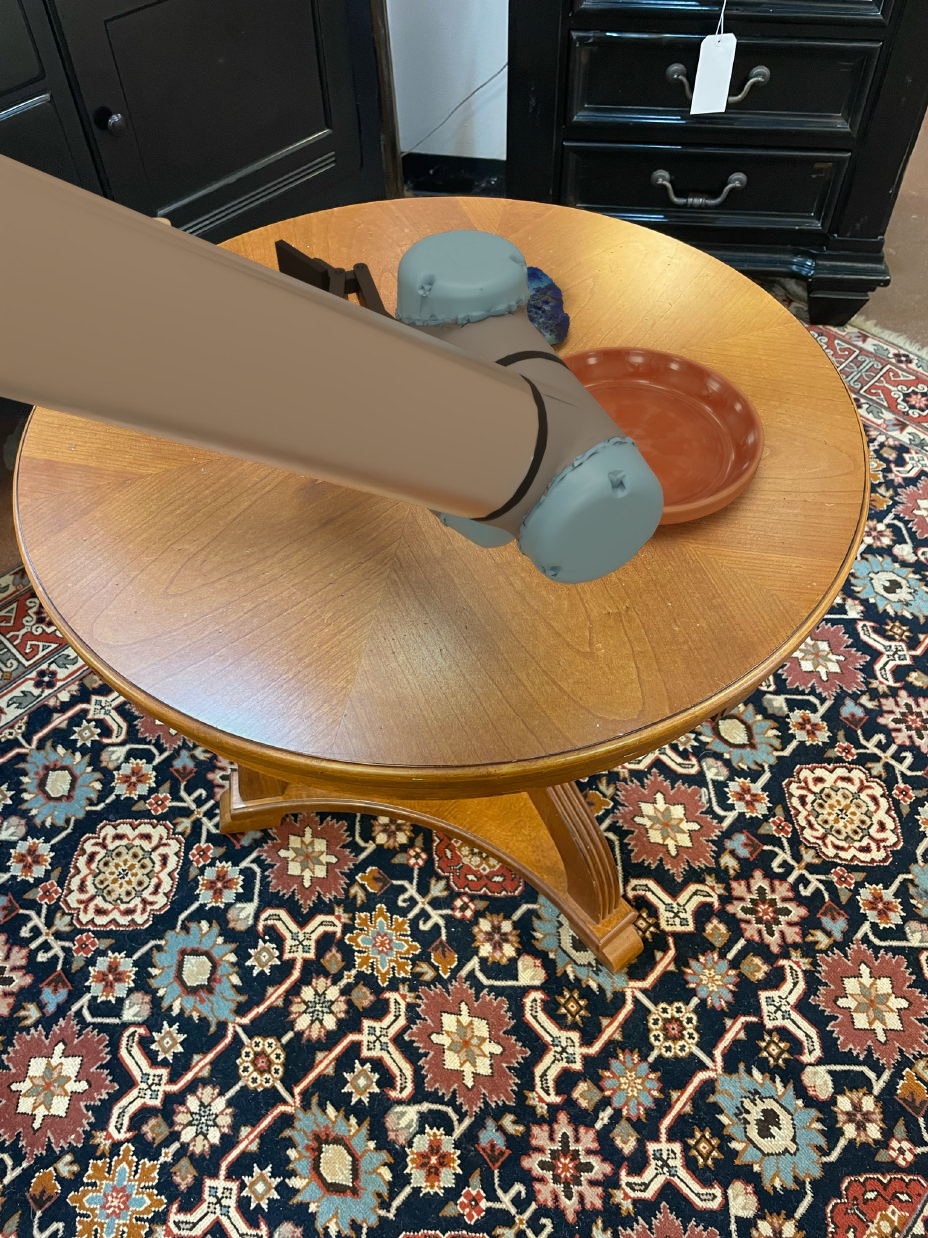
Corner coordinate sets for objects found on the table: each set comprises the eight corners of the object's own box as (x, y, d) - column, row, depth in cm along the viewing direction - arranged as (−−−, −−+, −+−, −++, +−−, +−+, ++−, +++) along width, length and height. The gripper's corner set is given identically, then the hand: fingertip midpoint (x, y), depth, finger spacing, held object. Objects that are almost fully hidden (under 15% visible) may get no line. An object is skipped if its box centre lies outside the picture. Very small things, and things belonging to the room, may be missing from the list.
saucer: (802, 446, 89) (813, 414, 86) (661, 580, 78) (669, 549, 75) (605, 349, 99) (609, 317, 96) (456, 457, 88) (456, 425, 85)
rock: (573, 352, 98) (575, 335, 97) (408, 358, 98) (406, 341, 96) (558, 277, 108) (559, 261, 106) (407, 283, 108) (406, 267, 106)
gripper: (238, 518, 67) (91, 382, 77) (495, 374, 78) (337, 271, 88) (217, 434, 61) (61, 299, 71) (498, 291, 72) (328, 191, 82)
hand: (213, 283), depth 80 cm, fingers open, 13 cm apart
